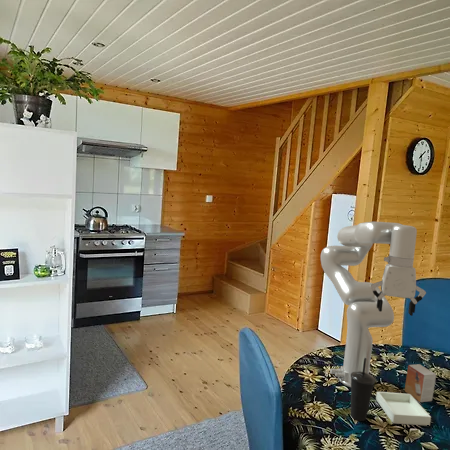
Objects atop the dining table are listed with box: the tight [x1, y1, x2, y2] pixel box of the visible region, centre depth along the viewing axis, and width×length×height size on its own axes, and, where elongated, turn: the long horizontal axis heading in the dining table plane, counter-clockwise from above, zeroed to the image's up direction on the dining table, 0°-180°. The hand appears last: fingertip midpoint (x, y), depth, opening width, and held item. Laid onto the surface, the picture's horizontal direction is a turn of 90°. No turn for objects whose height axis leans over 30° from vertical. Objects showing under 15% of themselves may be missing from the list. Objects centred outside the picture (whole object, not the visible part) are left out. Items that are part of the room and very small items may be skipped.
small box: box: [404, 363, 437, 403], centre depth 146 cm, size 8×6×10 cm
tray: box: [375, 391, 432, 427], centre depth 135 cm, size 12×14×3 cm
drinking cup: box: [350, 358, 376, 422], centre depth 129 cm, size 8×8×20 cm
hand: (394, 312), depth 133 cm, fingers open, 9 cm apart
